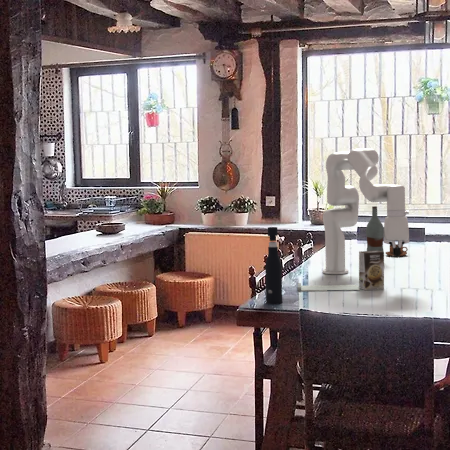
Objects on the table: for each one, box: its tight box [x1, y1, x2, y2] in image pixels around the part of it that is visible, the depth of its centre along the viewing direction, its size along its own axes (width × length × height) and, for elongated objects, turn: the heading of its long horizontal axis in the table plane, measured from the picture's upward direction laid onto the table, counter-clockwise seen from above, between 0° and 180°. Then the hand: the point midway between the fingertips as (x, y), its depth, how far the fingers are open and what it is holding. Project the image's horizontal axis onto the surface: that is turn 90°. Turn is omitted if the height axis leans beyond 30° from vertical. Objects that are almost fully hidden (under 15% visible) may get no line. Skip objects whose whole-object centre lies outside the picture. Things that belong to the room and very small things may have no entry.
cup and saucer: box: [384, 243, 409, 257], centre depth 394 cm, size 12×12×6 cm
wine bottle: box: [264, 226, 283, 305], centre depth 276 cm, size 6×6×30 cm
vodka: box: [365, 206, 385, 253], centre depth 369 cm, size 9×9×30 cm
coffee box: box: [358, 250, 385, 291], centre depth 299 cm, size 9×6×16 cm
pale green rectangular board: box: [297, 282, 361, 292], centre depth 302 cm, size 10×26×2 cm, turn 85°
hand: (396, 256), depth 297 cm, fingers closed
